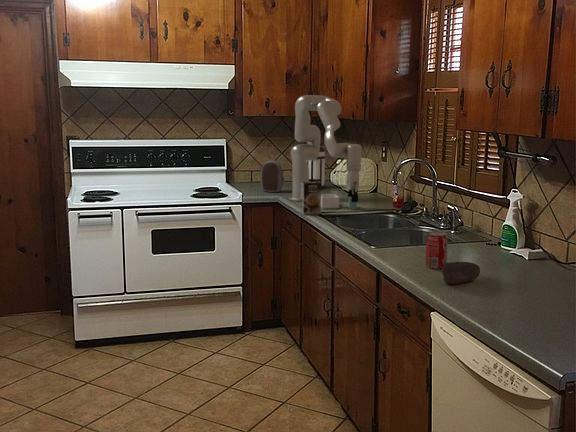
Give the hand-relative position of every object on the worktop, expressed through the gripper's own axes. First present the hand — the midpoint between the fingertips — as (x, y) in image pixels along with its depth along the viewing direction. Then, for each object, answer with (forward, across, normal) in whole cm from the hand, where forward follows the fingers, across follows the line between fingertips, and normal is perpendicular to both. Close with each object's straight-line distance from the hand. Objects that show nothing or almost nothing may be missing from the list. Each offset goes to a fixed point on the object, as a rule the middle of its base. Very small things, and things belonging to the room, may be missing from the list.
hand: (352, 200), depth 321 cm
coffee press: (+5, -78, -9) cm, 78 cm away
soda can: (+5, +114, +6) cm, 115 cm away
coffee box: (+5, +12, -24) cm, 27 cm away
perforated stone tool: (+5, +132, +8) cm, 133 cm away
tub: (+5, -8, -12) cm, 14 cm away
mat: (+5, -7, 0) cm, 8 cm away
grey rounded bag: (+5, -64, -38) cm, 74 cm away
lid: (+4, -6, 0) cm, 7 cm away
